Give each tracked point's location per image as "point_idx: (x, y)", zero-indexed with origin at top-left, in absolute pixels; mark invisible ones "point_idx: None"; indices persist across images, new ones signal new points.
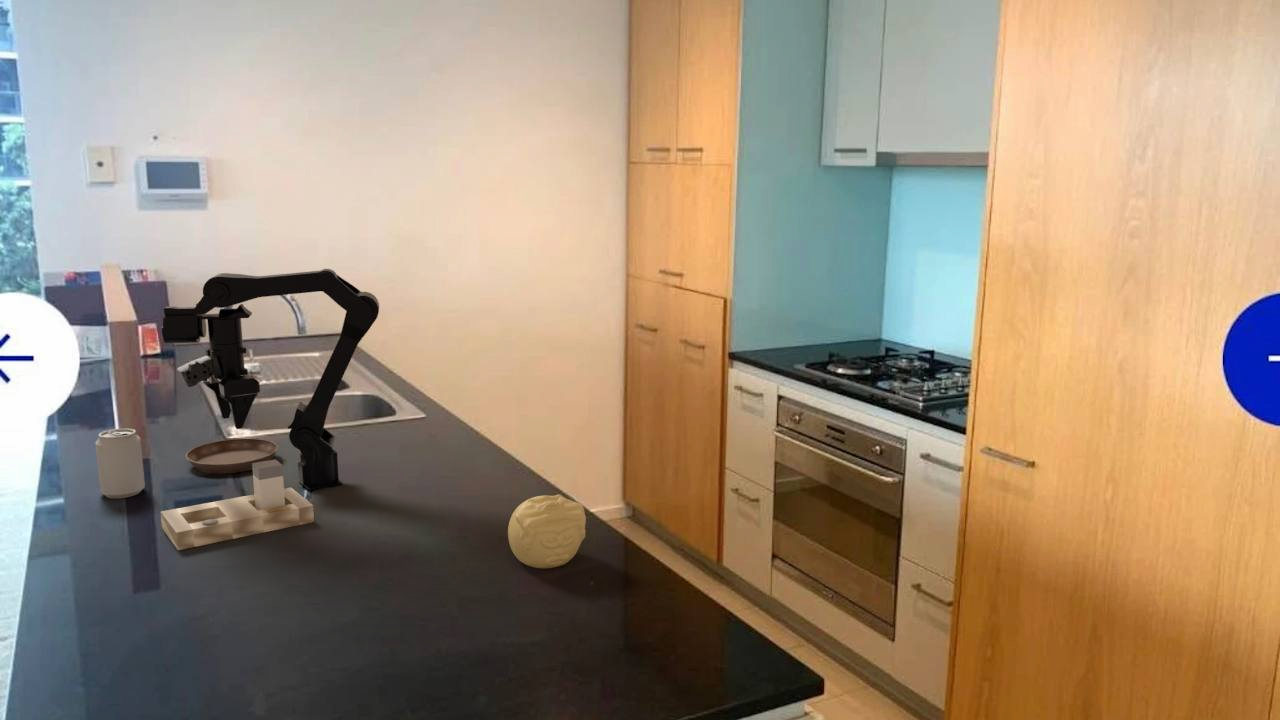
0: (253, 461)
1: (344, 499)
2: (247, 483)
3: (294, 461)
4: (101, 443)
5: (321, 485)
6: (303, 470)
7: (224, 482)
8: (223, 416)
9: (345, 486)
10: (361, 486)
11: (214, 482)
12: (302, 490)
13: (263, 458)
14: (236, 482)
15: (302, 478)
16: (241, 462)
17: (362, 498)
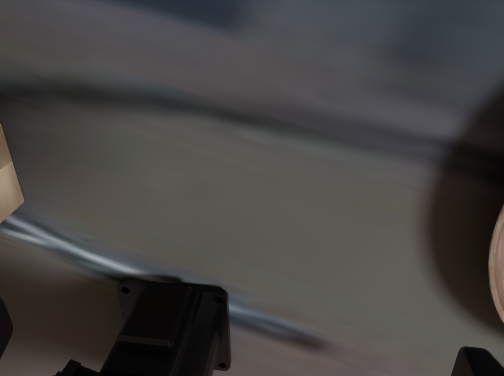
0: (490, 259)
1: (9, 308)
2: (334, 162)
3: None
4: None
5: (127, 314)
6: (125, 323)
7: (419, 93)
8: (468, 366)
9: None
10: None
11: (455, 55)
12: (141, 266)
13: (495, 299)
14: (379, 133)
15: (142, 298)
16: (499, 217)
17: None
